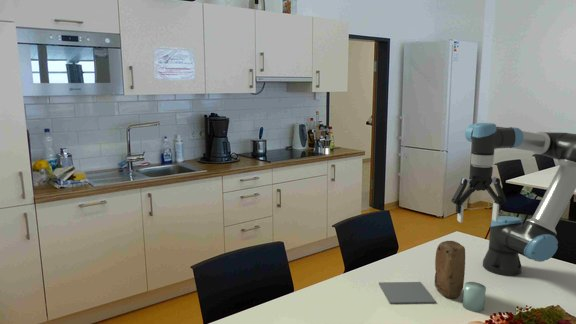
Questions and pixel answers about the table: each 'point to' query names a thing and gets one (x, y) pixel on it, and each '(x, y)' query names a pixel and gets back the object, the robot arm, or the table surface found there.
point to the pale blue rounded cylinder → (474, 296)
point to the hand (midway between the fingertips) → (477, 221)
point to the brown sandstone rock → (450, 268)
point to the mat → (406, 292)
